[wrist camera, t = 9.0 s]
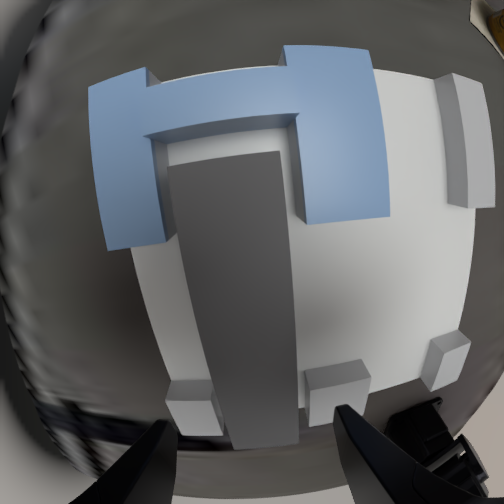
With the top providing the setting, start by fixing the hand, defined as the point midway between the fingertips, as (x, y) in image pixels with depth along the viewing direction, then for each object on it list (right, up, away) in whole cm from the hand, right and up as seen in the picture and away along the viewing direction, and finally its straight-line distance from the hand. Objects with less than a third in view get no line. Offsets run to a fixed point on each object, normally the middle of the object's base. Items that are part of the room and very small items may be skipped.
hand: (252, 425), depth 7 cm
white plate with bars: (+5, +5, +8) cm, 10 cm away
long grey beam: (0, +2, +8) cm, 8 cm away
